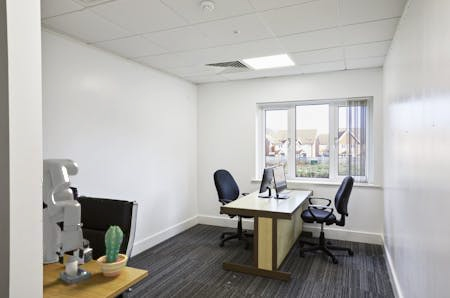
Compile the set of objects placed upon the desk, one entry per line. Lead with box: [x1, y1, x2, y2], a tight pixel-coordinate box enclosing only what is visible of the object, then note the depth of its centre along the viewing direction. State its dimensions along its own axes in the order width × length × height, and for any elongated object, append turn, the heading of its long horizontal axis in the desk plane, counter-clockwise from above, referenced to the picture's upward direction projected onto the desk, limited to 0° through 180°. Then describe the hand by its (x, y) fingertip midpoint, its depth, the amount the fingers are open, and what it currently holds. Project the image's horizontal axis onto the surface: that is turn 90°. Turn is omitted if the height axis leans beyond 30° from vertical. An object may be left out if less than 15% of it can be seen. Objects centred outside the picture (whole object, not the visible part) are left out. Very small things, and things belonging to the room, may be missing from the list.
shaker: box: [65, 255, 78, 279], centre depth 147 cm, size 5×5×10 cm
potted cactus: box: [96, 225, 128, 277], centre depth 153 cm, size 15×15×25 cm
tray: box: [59, 266, 92, 286], centre depth 147 cm, size 12×10×3 cm
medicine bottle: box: [73, 241, 93, 265], centre depth 169 cm, size 7×7×12 cm
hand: (71, 260), depth 148 cm, fingers open, 9 cm apart
